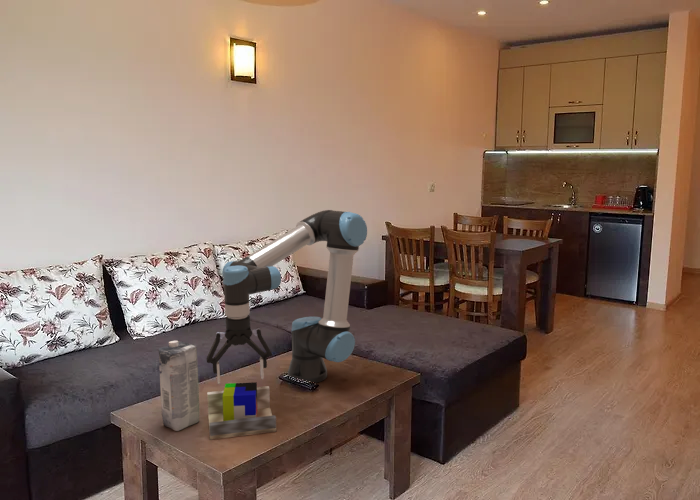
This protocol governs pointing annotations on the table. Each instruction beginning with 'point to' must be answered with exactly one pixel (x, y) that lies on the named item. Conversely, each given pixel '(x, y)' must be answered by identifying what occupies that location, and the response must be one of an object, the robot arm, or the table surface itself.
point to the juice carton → (179, 385)
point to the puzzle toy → (239, 401)
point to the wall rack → (241, 426)
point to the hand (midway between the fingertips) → (240, 380)
